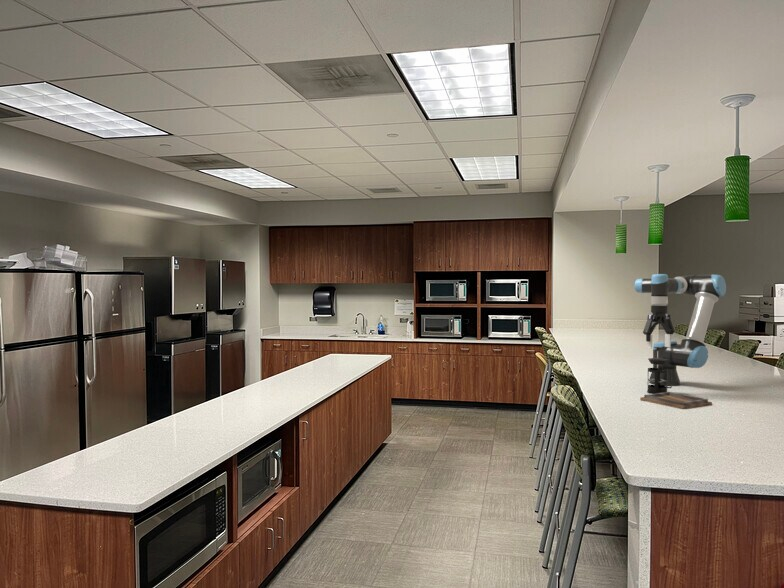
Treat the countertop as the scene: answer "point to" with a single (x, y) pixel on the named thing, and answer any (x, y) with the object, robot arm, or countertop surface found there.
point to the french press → (658, 375)
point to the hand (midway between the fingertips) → (658, 347)
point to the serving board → (676, 400)
